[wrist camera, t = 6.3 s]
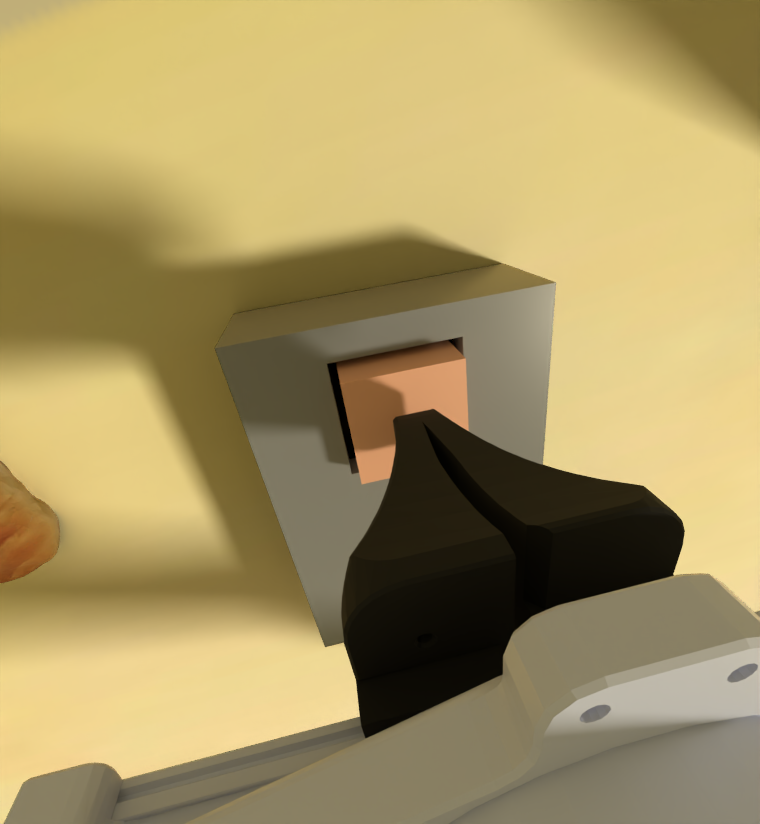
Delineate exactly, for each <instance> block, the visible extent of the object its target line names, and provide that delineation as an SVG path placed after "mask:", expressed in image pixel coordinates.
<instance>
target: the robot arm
mask: <svg viewBox="0 0 760 824" xmlns="http://www.w3.org/2000/svg"><path fill="white" fill-rule="evenodd" d="M393 426H394V433H395V439H396V446H395V456H394V461H393V467H392V472H391V476H390V479H389V483H388V486H387V489H386V492H385V494H384V497H383V500H382V502H381V505H380V507H379V509H378V511H377V513H376V515H375V517H374V519H373V521H372V523H371V524H370V526H369V528H368V530H367V532H366V533H365V535H364V537H363V538H362V540H361V541H360V542H359V544H358V545H357V547H356V548H355V550H354V551H353V552H352V554H351V555H350V557H349V561H348V565H347V570H346V574H345V580H344V585H343V593H342V603H341V619H342V628H343V637H344V644H345V647H346V650H347V654H348V657H349V660H350V663H351V666H352V669H353V672H354V675H355V678H356V684H357V693H358V702H359V712H360V717H357V718H353V719H349V720H346V721H342V722H338V723H334V724H331V725H327V726H323V727H319V728H315V729H312V730H308V731H304V732H300V733H297V734H293V735H289V736H285V737H281V738H278V739H274V740H270V741H266V742H263V743H259V744H255V745H251V746H248V747H244V748H240V749H236V750H232V751H229V752H225V753H221V754H217V755H214V756H210V757H206V758H202V759H198V760H195V761H191V762H187V763H183V764H180V765H176V766H172V767H168V768H165V769H161V770H157V771H153V772H149V773H146V774H142V775H138V776H134V777H131V778H127V779H123V780H122V779H121V777H120V776H119V774H118V773H117V772H116V770H115V769H114V768H112V767H111V766H109V765H107V764H103V763H88V764H83V765H79V766H75V767H71V768H67V769H63V770H60V771H56V772H52V773H48V774H44V775H40V776H37V777H33V778H30V779H28V780H27V781H25V782H24V783H23V784H22V786H21V788H20V790H19V792H18V795H17V797H16V799H15V801H14V803H13V805H12V807H11V809H10V811H9V813H8V816H7V818H6V820H5V822H4V824H760V611H757V612H753V611H752V610H751V609H750V608H749V607H748V606H747V605H746V604H745V603H744V602H743V601H742V600H740V599H739V598H738V597H737V596H736V595H735V594H734V593H733V592H732V591H731V590H730V589H729V588H728V587H727V586H725V585H724V584H723V583H722V582H721V581H719V580H717V579H716V578H714V577H713V576H711V575H710V574H702V573H698V574H683V575H675V576H674V575H673V573H674V570H675V567H676V564H677V561H678V558H679V555H680V552H681V548H682V545H683V539H684V532H685V531H684V527H683V522H682V520H681V519H680V518H679V517H678V516H677V514H676V513H675V512H674V511H672V510H671V509H670V508H669V507H668V506H667V505H665V504H664V503H663V502H662V501H661V500H660V499H659V498H657V497H656V496H655V495H654V494H653V493H652V492H650V491H649V490H648V489H647V488H645V487H644V486H641V485H634V484H628V483H621V482H614V481H608V480H601V479H596V478H591V477H587V476H582V475H578V474H573V473H569V472H566V471H562V470H558V469H555V468H552V467H548V466H545V465H542V464H539V463H536V462H533V461H530V460H527V459H525V458H522V457H520V456H517V455H515V454H512V453H510V452H507V451H505V450H503V449H501V448H499V447H497V446H495V445H493V444H491V443H489V442H487V441H485V440H483V439H481V438H479V437H478V436H476V435H474V434H472V433H471V432H469V431H467V430H466V429H464V428H462V427H461V426H459V425H458V424H456V423H454V422H453V421H451V420H450V419H448V418H447V417H445V416H444V415H442V414H441V413H439V412H438V411H436V410H435V409H430V410H425V411H421V412H416V413H411V414H406V415H402V416H397V417H395V418H394V420H393Z"/></svg>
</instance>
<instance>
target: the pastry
mask: <svg viewBox="0 0 760 824" xmlns="http://www.w3.org/2000/svg"><path fill="white" fill-rule="evenodd" d="M59 541H60V528H59V521H58V518H57V516H56V514H55V513H54V512H53V511H52V509H51V508H50V507H49V506H48V505H47V504H46V503H45V502H43V501H41V500H39V499H37V498H36V497H35V496H33V495H32V494H31V493H30V492H29V491H28V490H27V489H26V488H25V486H24V485H23V484H22V483H21V482H20V481H19V480H17V479H16V478H15V477H14V476H13V475H12V473H11V472H10V470H9V469H8V468H7V467H6V466H5V465H4V464H3V463H2V462H1V461H0V583H4V582H8V581H12V580H14V579H17V578H20V577H23V576H25V575H27V574H29V573H30V572H32V571H34V570H35V569H37V568H38V567H39V566H41V565H42V564H44V563H46V562H48V561H49V560H51V559H52V558H53V557H54V555H55V554H56V553H57V550H58V545H59Z"/></svg>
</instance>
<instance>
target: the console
mask: <svg viewBox="0 0 760 824" xmlns="http://www.w3.org/2000/svg"><path fill="white" fill-rule="evenodd" d="M555 290H556V282H553V281H550V280H547V279H545V278H542V277H539V276H536V275H534V274H531V273H528V272H525V271H523V270H520V269H517V268H514V267H512V266H509V265H506V264H497V265H492V266H487V267H481V268H476V269H470V270H465V271H460V272H454V273H449V274H444V275H438V276H433V277H428V278H422V279H417V280H412V281H406V282H401V283H396V284H390V285H385V286H380V287H374V288H369V289H363V290H358V291H353V292H347V293H342V294H337V295H331V296H326V297H321V298H315V299H310V300H305V301H299V302H294V303H289V304H283V305H278V306H272V307H267V308H262V309H256V310H251V311H246V312H240V313H235V314H233V316H232V318H231V320H230V322H229V323H228V325H227V327H226V329H225V331H224V332H223V334H222V336H221V338H220V340H219V341H218V343H217V345H216V347H215V351H216V353H217V356H218V359H219V362H220V364H221V367H222V370H223V372H224V375H225V378H226V380H227V383H228V386H229V389H230V391H231V394H232V397H233V399H234V402H235V405H236V407H237V410H238V413H239V416H240V418H241V421H242V424H243V426H244V429H245V432H246V435H247V437H248V440H249V443H250V445H251V448H252V451H253V453H254V456H255V459H256V462H257V464H258V467H259V470H260V472H261V475H262V478H263V480H264V483H265V486H266V489H267V491H268V494H269V497H270V499H271V502H272V505H273V508H274V510H275V513H276V516H277V518H278V521H279V524H280V526H281V529H282V532H283V535H284V537H285V540H286V543H287V545H288V548H289V551H290V553H291V556H292V559H293V562H294V564H295V567H296V570H297V572H298V575H299V578H300V581H301V583H302V586H303V589H304V591H305V594H306V597H307V599H308V602H309V605H310V608H311V610H312V613H313V616H314V618H315V621H316V624H317V626H318V629H319V632H320V635H321V637H322V640H323V643H324V645H325V647H327V646H331V645H335V644H339V643H343V642H344V637H343V628H342V619H341V603H342V593H343V585H344V580H345V574H346V570H347V565H348V561H349V557H350V555H351V554H352V552H353V551H354V550H355V548H356V547H357V545H358V544H359V542H360V541H361V540H362V538H363V537H364V535H365V533H366V532H367V530H368V528H369V526H370V524H371V523H372V521H373V519H374V517H375V515H376V513H377V511H378V509H379V507H380V505H381V502H382V500H383V497H384V494H385V492H386V489H387V486H388V483H389V479H390V478H388V479H384V480H379V481H375V482H370V483H366V484H362V483H361V479H360V474H359V469H358V465H357V460H356V458H352V459H349V456H348V452H347V448H346V443H345V439H344V434H343V430H342V426H341V421H340V417H339V412H338V408H337V403H336V399H335V395H334V390H333V386H332V381H331V377H330V372H329V368H328V363H333V362H338V361H343V360H348V359H353V358H358V357H363V356H368V355H373V354H378V353H383V352H388V351H393V350H398V349H403V348H408V347H413V346H418V345H423V344H428V343H433V342H438V341H443V340H448V339H453V338H454V347H455V348H456V349H457V350H458V351H459V352H460V353H461V354H462V355H463V356H464V357H465V358H466V375H467V400H468V425H469V432H471V433H472V434H474V435H476V436H478V437H479V438H481V439H483V440H485V441H487V442H489V443H491V444H493V445H495V446H497V447H499V448H501V449H503V450H505V451H507V452H510V453H512V454H515V455H517V456H520V457H522V458H525V459H527V460H530V461H533V462H536V463H539V464H542V465H543V454H544V441H545V427H546V413H547V399H548V386H549V372H550V358H551V345H552V331H553V317H554V303H555Z"/></svg>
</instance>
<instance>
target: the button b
mask: <svg viewBox="0 0 760 824" xmlns="http://www.w3.org/2000/svg"><path fill="white" fill-rule="evenodd" d="M336 365H337V370H338V375H339V380H340V385H341V390H342V395H343V399H344V404H345V409H346V413H347V418H348V423H349V427H350V432H351V437H352V441H353V446H354V451H355V455H356V460H357V465H358V469H359V474H360V479H361V483H362V484H366V483H370V482H375V481H379V480H384V479H388V478H390V476H391V472H392V467H393V461H394V456H395V446H396V439H395V433H394V426H393V420H394V418H395V417H397V416H402V415H406V414H411V413H416V412H421V411H425V410H430V409H435V410H436V411H438V412H439V413H441V414H442V415H444V416H445V417H447V418H448V419H450V420H451V421H453V422H454V423H456V424H458V425H459V426H461V427H462V428H464V429H466V430H467V431H469V425H468V400H467V375H466V358H465V357H464V356H463V355H462V354H461V353H460V352H459V351H458V350H457V349H456V348H455V347H454V346H453V345H452V344H451V343H450V342H449V341H448V340H443V341H438V342H433V343H428V344H423V345H418V346H413V347H408V348H403V349H398V350H393V351H388V352H383V353H378V354H373V355H368V356H363V357H358V358H353V359H348V360H343V361H338V362H336Z"/></svg>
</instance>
